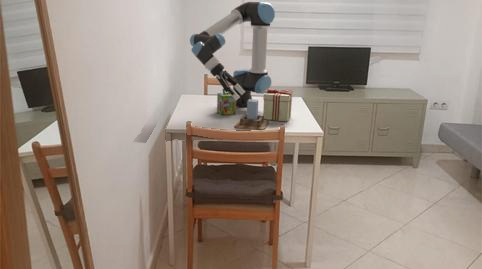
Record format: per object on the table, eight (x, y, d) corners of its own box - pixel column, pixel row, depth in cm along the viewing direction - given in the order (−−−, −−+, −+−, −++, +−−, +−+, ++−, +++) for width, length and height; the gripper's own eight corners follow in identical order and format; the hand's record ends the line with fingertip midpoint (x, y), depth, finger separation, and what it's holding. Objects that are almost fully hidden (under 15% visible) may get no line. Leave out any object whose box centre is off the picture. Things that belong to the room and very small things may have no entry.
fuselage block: (246, 124, 241) (247, 101, 237) (248, 121, 246) (249, 99, 242) (255, 125, 240) (256, 101, 236) (257, 122, 245) (258, 99, 241)
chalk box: (221, 115, 261) (222, 91, 257) (216, 111, 269) (216, 87, 265) (236, 114, 265) (236, 90, 260) (230, 110, 273) (231, 87, 268)
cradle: (234, 127, 238) (234, 119, 236) (241, 120, 252) (241, 112, 251) (263, 130, 234) (264, 122, 233) (268, 122, 249) (269, 115, 248)
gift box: (291, 114, 269) (293, 86, 264) (289, 122, 252) (291, 92, 246) (264, 112, 271) (265, 84, 266) (260, 120, 254) (261, 90, 249)
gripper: (216, 67, 251) (241, 95, 253) (203, 75, 228) (230, 105, 229) (225, 59, 248) (250, 87, 250) (213, 65, 225) (240, 96, 227)
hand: (240, 96), depth 240 cm, fingers open, 13 cm apart
